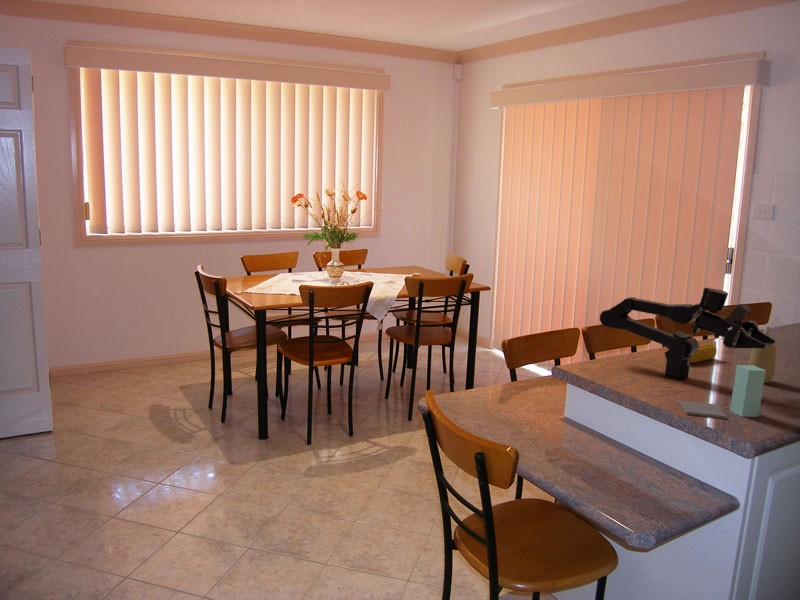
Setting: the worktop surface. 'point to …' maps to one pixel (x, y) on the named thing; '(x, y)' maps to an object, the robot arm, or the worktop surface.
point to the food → (703, 353)
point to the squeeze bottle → (765, 358)
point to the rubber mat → (702, 409)
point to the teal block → (747, 390)
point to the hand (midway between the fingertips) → (770, 344)
